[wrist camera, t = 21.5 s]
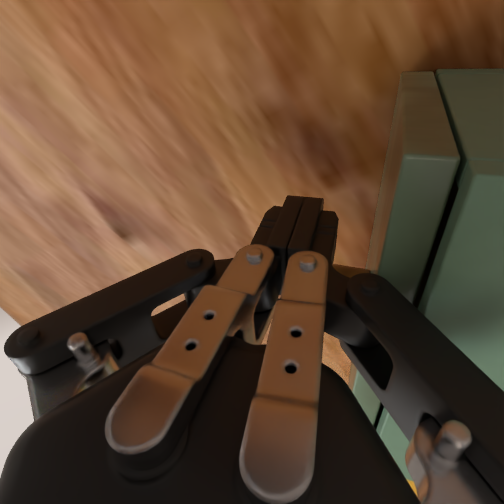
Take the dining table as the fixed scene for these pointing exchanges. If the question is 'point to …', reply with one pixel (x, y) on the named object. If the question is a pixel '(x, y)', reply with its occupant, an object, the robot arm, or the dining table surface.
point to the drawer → (410, 201)
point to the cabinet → (468, 236)
